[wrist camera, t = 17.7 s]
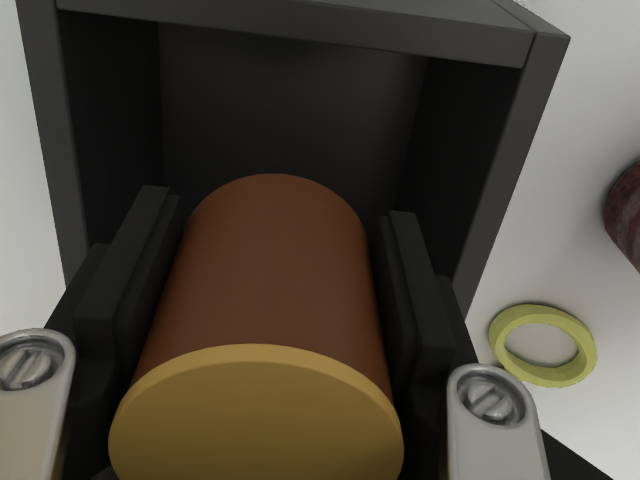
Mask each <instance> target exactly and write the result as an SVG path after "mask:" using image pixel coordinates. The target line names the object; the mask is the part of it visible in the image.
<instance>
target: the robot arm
mask: <svg viewBox="0 0 640 480" xmlns="http://www.w3.org/2000/svg"><path fill="white" fill-rule="evenodd" d="M182 236H183V202H182V196H179V195H173V190H172V188H169V187H159V186H149V185H143V186H142V188H141V190H140V192H139V193H138V195H137V197H136V199H135V201H134V203H133V205H132V206H131V208H130V210H129V212H128V214H127V216H126V217H125V219H124V221H123V223H122V225H121V227H120V229H119V230H118V232H117V234H116V236H115V238H114V240H113V241H112V243H111V244H102V243H96V244H94V245H93V246H92V247H91V249H90V250H89V252H88V254H87V255H86V257H85V259H84V260H83V262H82V264H81V265H80V267H79V269H78V270H77V272H76V274H75V276H74V277H73V279H72V281H71V282H70V284H69V286H68V287H67V289H66V291H65V293H64V294H63V296H62V298H61V299H60V301H59V303H58V304H57V306H56V308H55V309H54V311H53V313H52V315H51V316H50V318H49V320H48V321H47V323H46V325H45V326H44V328H43V329H40V328H32V329H25V330H18V331H15V332H12V333H9V334H6V335H3V336H1V337H0V480H97V474H98V473H99V472H101V471H103V470H104V469H106V468H107V467H109V466H110V465H111V461H110V457H109V452H108V437H109V432H110V427H111V424H112V422H113V419H114V416H115V413H116V411H117V409H118V406H119V404H120V402H121V400H122V399H123V397H124V396H125V394H126V393H127V391H128V388H129V385H130V382H131V380H132V377H133V374H134V371H135V368H136V365H137V363H138V360H139V357H140V354H141V351H142V348H143V346H144V343H145V340H146V337H147V334H148V332H149V329H150V326H151V323H152V320H153V317H154V315H155V312H156V309H157V306H158V303H159V300H160V298H161V295H162V292H163V289H164V286H165V284H166V281H167V278H168V275H169V272H170V269H171V267H172V264H173V261H174V258H175V255H176V253H177V250H178V247H179V244H180V241H181V238H182ZM369 253H370V259H371V265H372V271H373V278H374V284H375V290H376V296H377V303H378V309H379V315H380V321H381V328H382V334H383V340H384V346H385V353H386V359H387V365H388V371H389V378H390V384H391V390H392V396H393V403H394V409H395V411H396V413H397V416H398V418H399V421H400V425H401V431H402V436H403V442H404V460H403V464H402V468H401V472H400V474H399V476H398V478H397V480H613V479H612V478H611V477H609V476H608V475H606V474H605V473H603V472H602V471H601V470H599V469H598V468H596V467H595V466H593V465H592V464H591V463H589V462H588V461H586V460H585V459H583V458H582V457H581V456H579V455H578V454H576V453H575V452H573V451H572V450H571V449H569V448H568V447H566V446H565V445H563V444H562V443H560V442H559V441H558V440H556V439H555V438H553V437H552V436H550V435H549V434H548V433H546V432H545V431H543V430H542V429H540V424H539V419H538V414H537V409H536V405H535V403H534V400H533V398H532V395H531V394H530V392H529V391H528V390H527V389H526V387H525V386H524V385H523V384H522V383H521V382H520V381H519V380H518V379H516V378H515V377H514V376H513V375H511V374H509V373H507V372H506V371H504V370H502V369H500V368H497V367H494V366H491V365H488V364H480V363H479V362H478V359H477V356H476V353H475V350H474V347H473V344H472V341H471V339H470V336H469V333H468V330H467V327H466V324H465V321H464V318H463V316H462V313H461V310H460V307H459V304H458V301H457V298H456V296H455V293H454V290H453V287H452V284H451V281H450V280H449V278H448V277H447V276H444V275H434V272H433V268H432V265H431V262H430V259H429V256H428V253H427V249H426V246H425V243H424V240H423V237H422V233H421V230H420V227H419V224H418V221H417V217H416V215H415V213H411V212H401V211H392V210H388V212H387V214H386V217H385V216H378V217H377V219H376V223H375V228H374V232H373V237H372V241H371V246H370V250H369Z"/></svg>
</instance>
